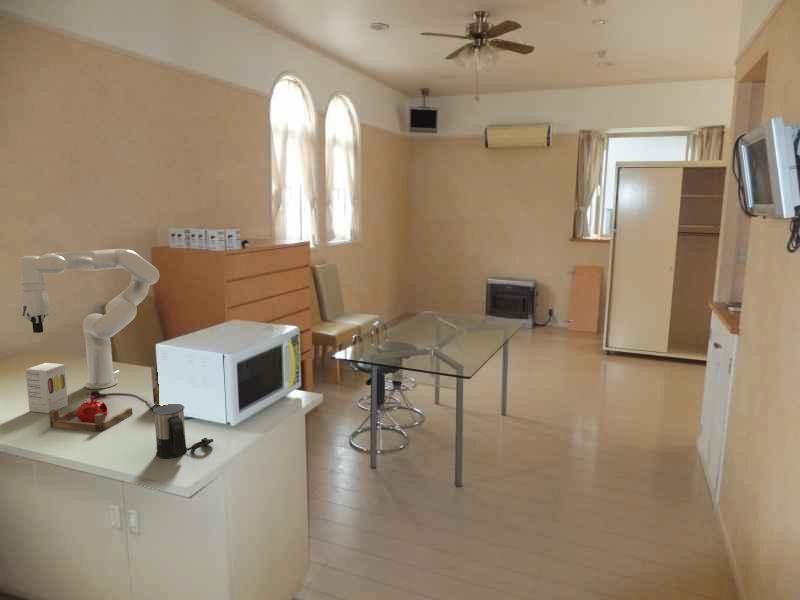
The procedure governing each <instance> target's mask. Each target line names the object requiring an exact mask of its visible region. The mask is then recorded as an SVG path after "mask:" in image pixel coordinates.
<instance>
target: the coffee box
mask: <svg viewBox="0 0 800 600" xmlns="http://www.w3.org/2000/svg"><path fill="white" fill-rule="evenodd" d="M150 373H151V383H152V384H151V386H152V397H153V405H154V404H155V405H154V406H156V405H159V384H158V372H157V364H155V365H152V366H150Z"/></svg>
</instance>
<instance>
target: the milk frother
mask: <svg viewBox="0 0 800 600" xmlns="http://www.w3.org/2000/svg"><path fill="white" fill-rule="evenodd" d="M184 409H185V406H184V405H182V404H168V405H163V406H156V408H154V409H153V411H152V412H153V414H154V428H155V429H154V430H155V440H156V453H155V454H156V456H157V457H159V458H162V459H171V458H175V457H179V456H182V455H184V454H186V452H187V451H191V450H194V449H197V448H198V449H199V448H201V447H207V446H208V445H209V444H211V443H213V442H214V441H215V440H214V438H207V437H204V438H202V439H201V440H200V441H198V442H196V443H194V444H192V445H191V446H189V447H187V444H186V431H185V430H186V429H185V414H184V413H185V412H184V411H185V410H184Z"/></svg>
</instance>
